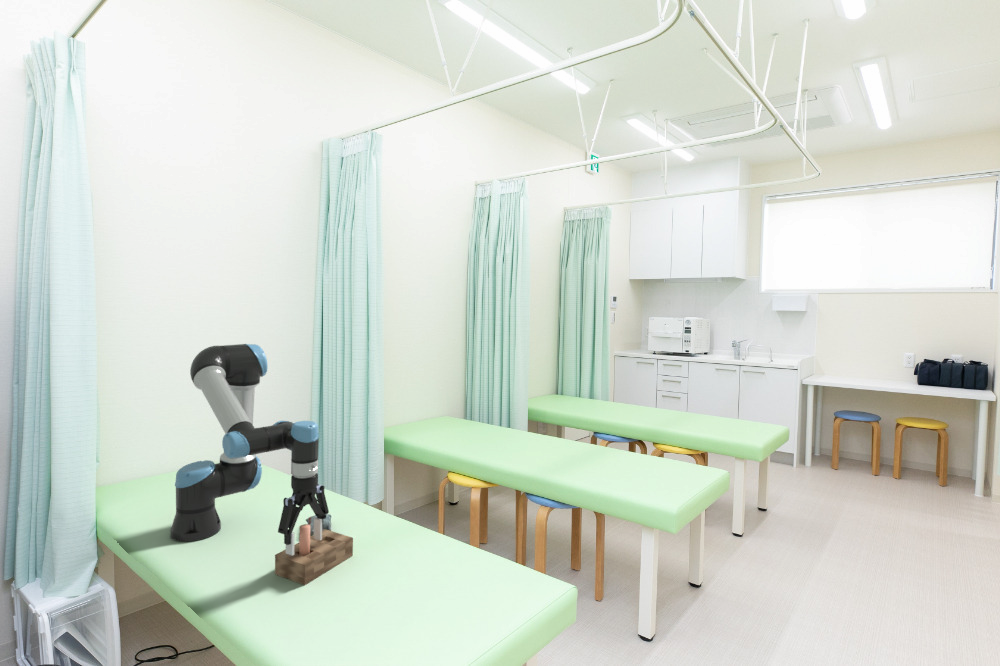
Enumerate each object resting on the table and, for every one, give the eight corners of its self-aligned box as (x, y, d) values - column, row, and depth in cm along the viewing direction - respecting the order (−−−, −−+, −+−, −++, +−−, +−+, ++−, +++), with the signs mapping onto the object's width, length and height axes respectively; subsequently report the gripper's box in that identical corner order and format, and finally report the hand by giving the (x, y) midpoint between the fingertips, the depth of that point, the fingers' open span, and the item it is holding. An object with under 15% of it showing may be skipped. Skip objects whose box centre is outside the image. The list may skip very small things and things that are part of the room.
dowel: (296, 565, 162) (297, 527, 161) (304, 561, 165) (305, 523, 164) (304, 568, 161) (304, 529, 160) (311, 563, 164) (312, 525, 163)
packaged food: (304, 539, 184) (304, 525, 183) (305, 524, 195) (306, 511, 195) (331, 537, 186) (331, 523, 186) (331, 522, 198) (331, 509, 197)
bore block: (275, 574, 161) (275, 554, 160) (324, 546, 179) (324, 529, 178) (304, 585, 156) (304, 565, 155) (352, 555, 174) (352, 537, 173)
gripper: (283, 488, 149) (282, 566, 151) (341, 465, 169) (340, 534, 171) (263, 483, 152) (263, 559, 154) (323, 461, 173) (322, 529, 174)
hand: (304, 546), depth 163 cm, fingers open, 10 cm apart
